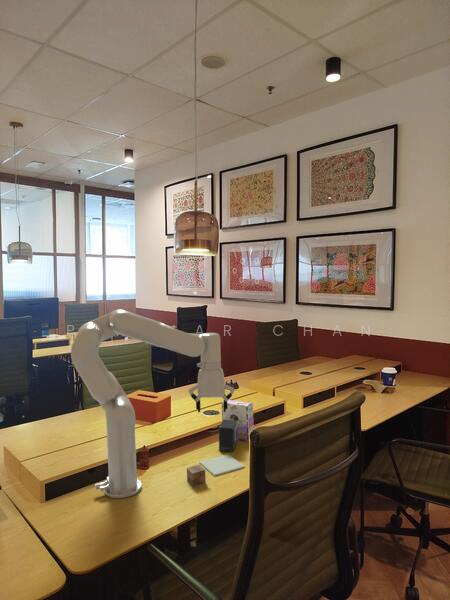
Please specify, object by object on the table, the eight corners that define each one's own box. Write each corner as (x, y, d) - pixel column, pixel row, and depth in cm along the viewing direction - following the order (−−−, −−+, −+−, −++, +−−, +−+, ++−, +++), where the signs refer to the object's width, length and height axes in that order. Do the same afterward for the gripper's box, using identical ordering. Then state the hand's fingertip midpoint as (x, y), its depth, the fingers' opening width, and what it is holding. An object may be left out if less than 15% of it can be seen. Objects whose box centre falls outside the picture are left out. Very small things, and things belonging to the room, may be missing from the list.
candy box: (254, 438, 186) (253, 402, 185) (248, 442, 181) (247, 406, 180) (228, 432, 193) (227, 398, 193) (222, 437, 188) (221, 402, 188)
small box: (233, 452, 171) (233, 428, 170) (218, 451, 172) (217, 427, 172) (238, 442, 181) (237, 419, 181) (223, 442, 182) (223, 419, 182)
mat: (214, 476, 150) (214, 474, 150) (199, 463, 162) (199, 461, 162) (244, 467, 157) (244, 466, 156) (227, 455, 168) (227, 454, 168)
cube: (192, 487, 143) (192, 473, 143) (187, 481, 147) (186, 467, 147) (205, 483, 145) (205, 469, 145) (199, 477, 150) (199, 464, 149)
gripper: (186, 368, 149) (188, 414, 149) (234, 367, 148) (235, 413, 149) (188, 364, 156) (190, 408, 157) (233, 363, 156) (234, 407, 157)
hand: (211, 411), depth 153 cm, fingers open, 9 cm apart
